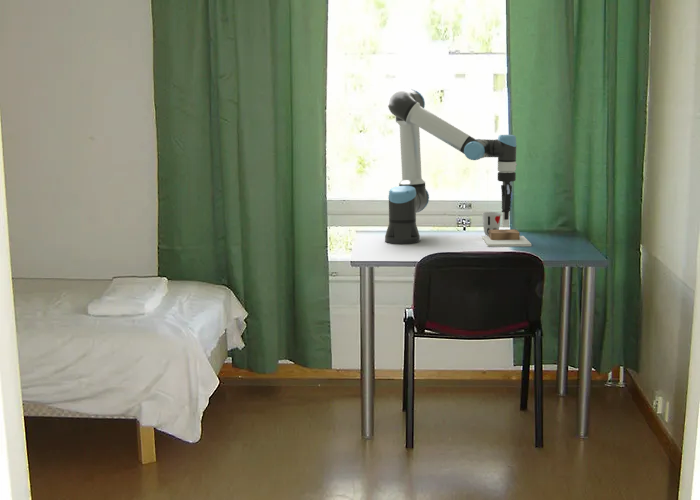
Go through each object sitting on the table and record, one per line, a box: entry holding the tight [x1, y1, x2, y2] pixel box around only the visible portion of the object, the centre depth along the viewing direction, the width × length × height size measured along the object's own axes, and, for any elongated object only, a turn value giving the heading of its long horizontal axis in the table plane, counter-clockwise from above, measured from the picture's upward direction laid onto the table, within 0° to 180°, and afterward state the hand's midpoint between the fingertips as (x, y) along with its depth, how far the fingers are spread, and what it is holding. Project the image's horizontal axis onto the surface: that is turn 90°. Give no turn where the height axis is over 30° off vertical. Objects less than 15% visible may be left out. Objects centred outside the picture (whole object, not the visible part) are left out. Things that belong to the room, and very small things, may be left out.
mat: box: [481, 235, 533, 248], centre depth 365 cm, size 18×20×1 cm
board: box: [489, 228, 521, 240], centre depth 369 cm, size 12×3×9 cm
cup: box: [481, 211, 502, 236], centre depth 382 cm, size 8×8×10 cm
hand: (505, 226), depth 365 cm, fingers closed
